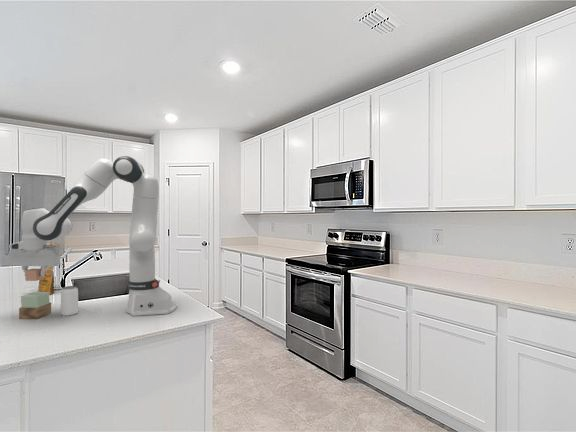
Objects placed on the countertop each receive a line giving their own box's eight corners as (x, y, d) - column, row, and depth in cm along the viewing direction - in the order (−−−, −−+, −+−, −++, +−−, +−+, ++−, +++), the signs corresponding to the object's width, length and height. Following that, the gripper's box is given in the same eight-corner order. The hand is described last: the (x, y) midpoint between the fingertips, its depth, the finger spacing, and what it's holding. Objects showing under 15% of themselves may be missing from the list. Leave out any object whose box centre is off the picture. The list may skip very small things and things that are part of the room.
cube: (43, 278, 146) (43, 268, 146) (36, 280, 142) (36, 270, 142) (33, 278, 146) (33, 268, 146) (25, 280, 142) (25, 270, 142)
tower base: (51, 313, 149) (51, 302, 149) (38, 319, 141) (37, 308, 141) (33, 313, 149) (33, 302, 148) (19, 319, 141) (19, 307, 140)
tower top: (49, 303, 148) (49, 292, 148) (37, 307, 141) (37, 296, 141) (34, 302, 148) (33, 291, 148) (21, 307, 141) (21, 296, 141)
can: (65, 317, 144) (65, 289, 143) (58, 314, 147) (58, 287, 147) (81, 313, 149) (80, 286, 149) (73, 310, 153) (73, 285, 152)
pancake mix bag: (49, 288, 192) (48, 240, 192) (60, 293, 181) (60, 243, 180) (35, 290, 187) (34, 241, 186) (46, 296, 175) (45, 244, 174)
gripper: (63, 244, 147) (63, 274, 148) (16, 243, 147) (17, 274, 147) (54, 245, 141) (54, 277, 141) (5, 245, 140) (5, 277, 141)
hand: (34, 276), depth 144 cm, fingers closed on cube, 4 cm apart
